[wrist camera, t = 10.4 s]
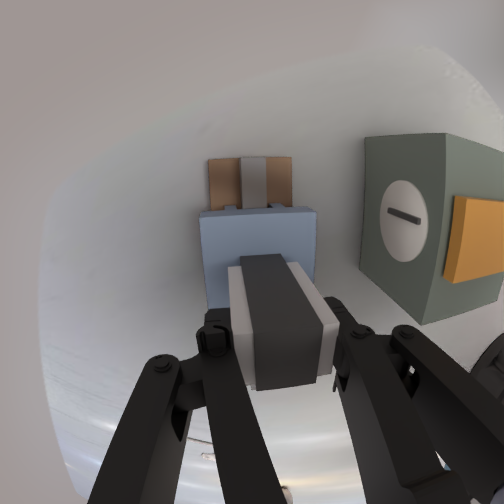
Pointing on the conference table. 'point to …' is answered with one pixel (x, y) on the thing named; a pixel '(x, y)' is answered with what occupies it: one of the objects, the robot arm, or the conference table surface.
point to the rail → (230, 183)
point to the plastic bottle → (287, 496)
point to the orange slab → (475, 239)
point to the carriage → (268, 285)
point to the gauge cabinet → (424, 219)
